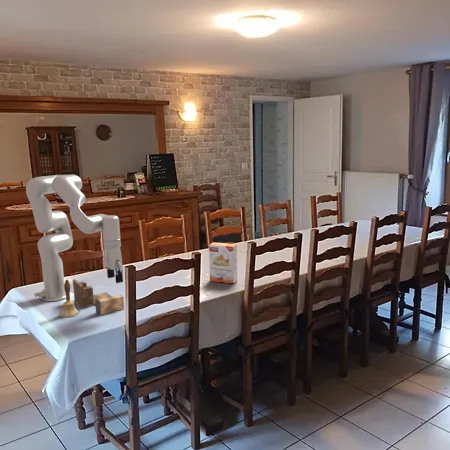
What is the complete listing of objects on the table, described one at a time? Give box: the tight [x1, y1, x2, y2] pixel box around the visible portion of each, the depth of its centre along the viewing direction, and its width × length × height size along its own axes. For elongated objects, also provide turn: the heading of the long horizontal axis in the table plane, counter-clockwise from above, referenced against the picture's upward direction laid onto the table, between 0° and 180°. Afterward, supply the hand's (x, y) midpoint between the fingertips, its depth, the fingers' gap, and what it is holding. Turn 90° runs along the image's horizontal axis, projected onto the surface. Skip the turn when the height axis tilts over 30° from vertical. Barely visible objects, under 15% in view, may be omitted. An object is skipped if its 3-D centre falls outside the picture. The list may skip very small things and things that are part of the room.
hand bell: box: [59, 279, 80, 318], centre depth 203 cm, size 8×8×16 cm
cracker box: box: [208, 241, 238, 284], centre depth 244 cm, size 14×6×21 cm, turn 68°
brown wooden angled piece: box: [72, 278, 112, 309], centre depth 219 cm, size 16×12×11 cm
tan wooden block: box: [94, 294, 125, 316], centre depth 207 cm, size 12×4×6 cm, turn 126°
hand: (115, 279), depth 206 cm, fingers open, 9 cm apart
